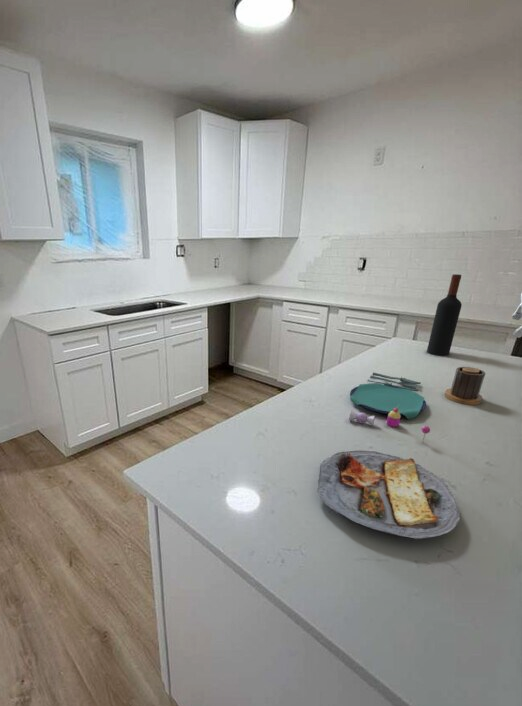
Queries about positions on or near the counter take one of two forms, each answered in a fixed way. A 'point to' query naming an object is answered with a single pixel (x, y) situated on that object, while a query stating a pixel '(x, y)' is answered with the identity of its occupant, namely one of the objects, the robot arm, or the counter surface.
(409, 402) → the cutlery set
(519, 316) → the robot arm
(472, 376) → the walnut ring
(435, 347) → the wine bottle
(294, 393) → the counter surface
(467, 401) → the wooden stand
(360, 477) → the food plate
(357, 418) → the candy
